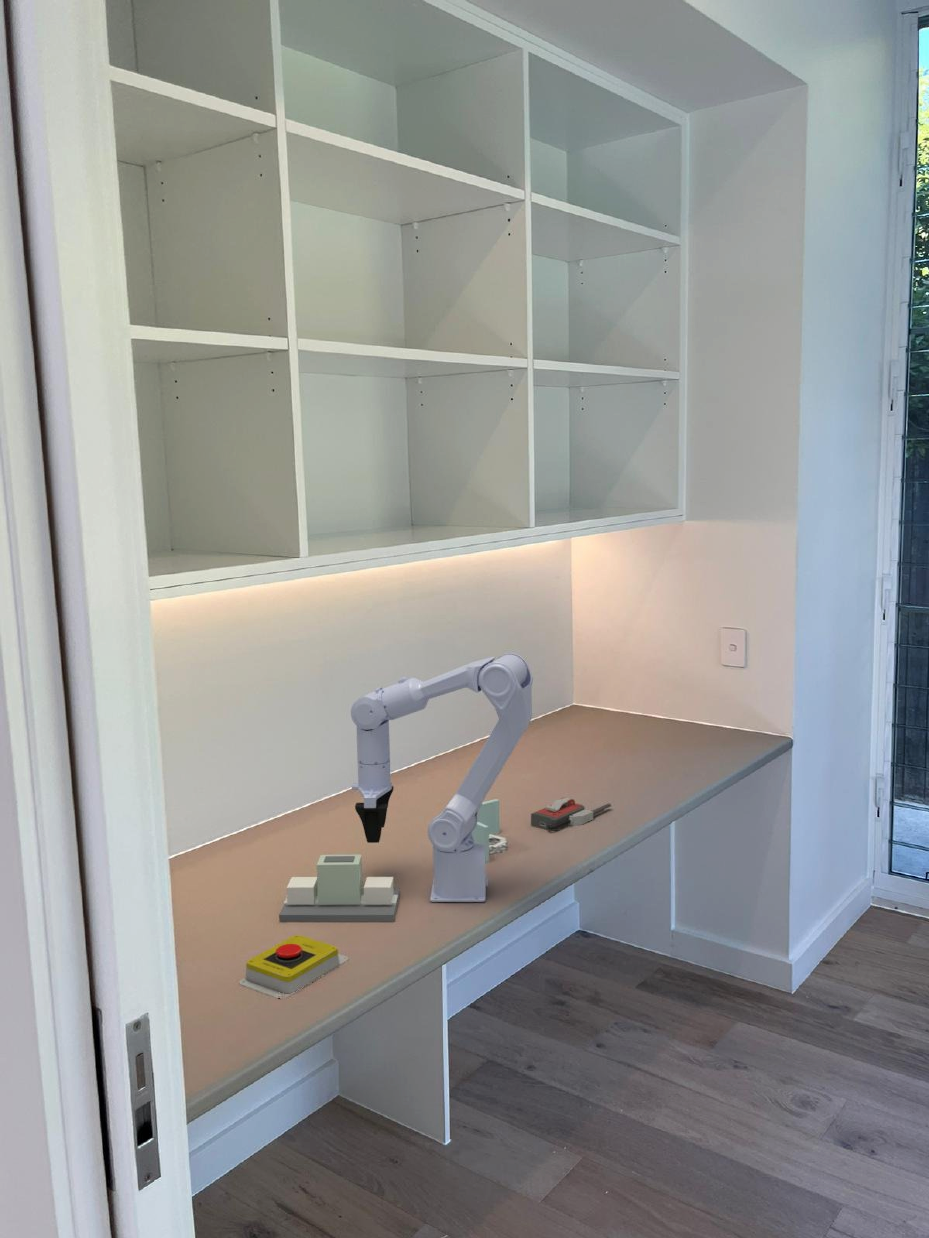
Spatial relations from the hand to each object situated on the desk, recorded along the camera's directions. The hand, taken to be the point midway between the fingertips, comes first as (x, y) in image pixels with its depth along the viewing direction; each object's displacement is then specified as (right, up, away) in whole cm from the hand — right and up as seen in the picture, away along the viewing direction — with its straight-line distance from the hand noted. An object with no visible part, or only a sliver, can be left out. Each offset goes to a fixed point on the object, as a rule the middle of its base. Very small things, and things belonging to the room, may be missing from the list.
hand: (375, 834), depth 189 cm
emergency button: (-10, -15, -30) cm, 35 cm away
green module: (-5, -9, -9) cm, 14 cm away
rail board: (-5, -11, -8) cm, 15 cm away
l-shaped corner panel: (+21, -7, +19) cm, 30 cm away
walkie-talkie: (+38, -4, +35) cm, 52 cm away
